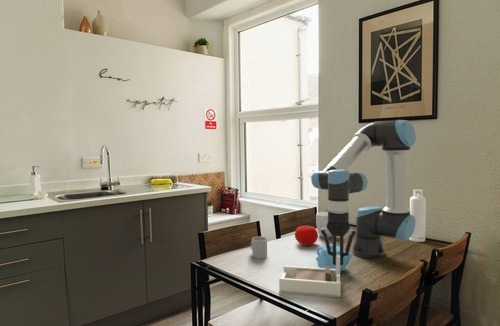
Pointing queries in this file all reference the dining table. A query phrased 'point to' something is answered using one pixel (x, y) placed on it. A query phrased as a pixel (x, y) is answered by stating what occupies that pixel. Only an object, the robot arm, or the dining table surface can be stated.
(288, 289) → the lid box
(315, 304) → the dining table surface
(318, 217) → the mug
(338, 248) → the teapot
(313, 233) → the tomato
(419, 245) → the dining table surface
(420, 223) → the bottle
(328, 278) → the cover plate
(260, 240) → the cup
